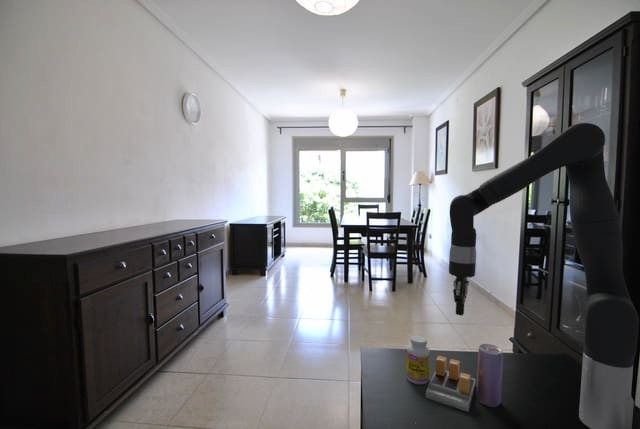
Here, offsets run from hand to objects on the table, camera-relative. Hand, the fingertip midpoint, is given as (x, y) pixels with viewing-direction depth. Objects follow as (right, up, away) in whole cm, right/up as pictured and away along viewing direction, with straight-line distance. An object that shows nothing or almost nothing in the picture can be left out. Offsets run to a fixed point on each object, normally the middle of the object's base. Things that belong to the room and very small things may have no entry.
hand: (459, 314), depth 101 cm
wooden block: (-7, -17, -2) cm, 19 cm away
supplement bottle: (-14, -20, -1) cm, 24 cm away
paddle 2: (-4, -17, -4) cm, 18 cm away
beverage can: (+3, -21, -12) cm, 24 cm away
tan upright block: (-4, -18, -12) cm, 22 cm away
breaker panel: (-6, -20, -8) cm, 22 cm away
